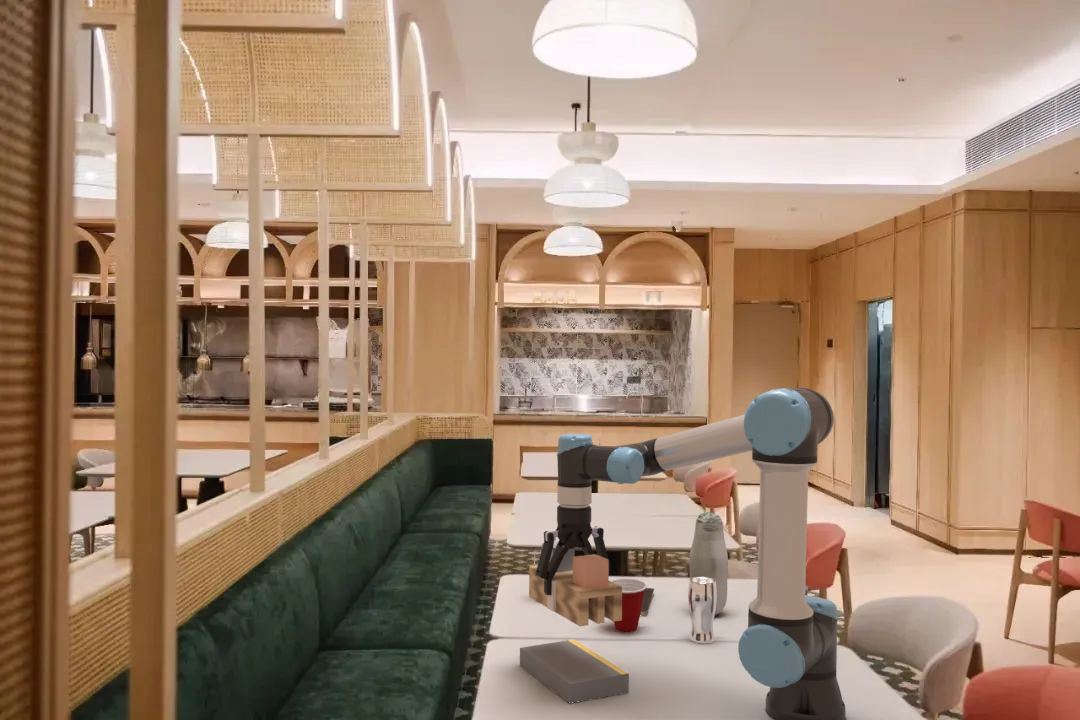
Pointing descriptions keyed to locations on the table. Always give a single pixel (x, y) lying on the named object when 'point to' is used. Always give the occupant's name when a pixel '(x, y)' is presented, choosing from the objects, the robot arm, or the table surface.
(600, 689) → the block
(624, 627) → the plastic cup
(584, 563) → the salmon pink cube
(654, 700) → the table surface
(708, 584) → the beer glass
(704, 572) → the grey bottle
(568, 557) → the grey block
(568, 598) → the pallet
